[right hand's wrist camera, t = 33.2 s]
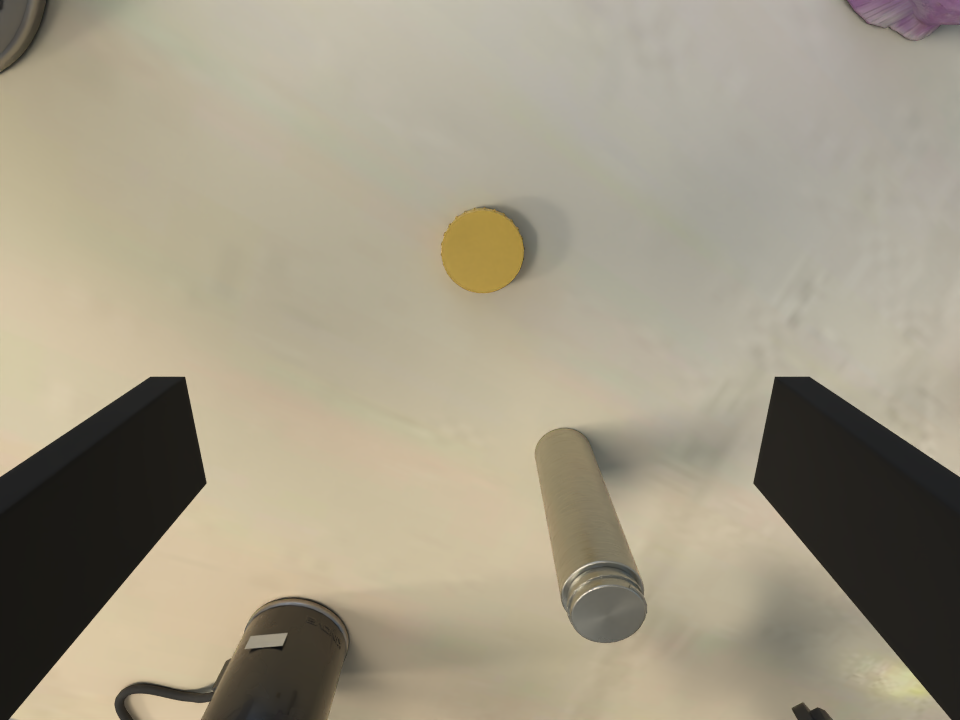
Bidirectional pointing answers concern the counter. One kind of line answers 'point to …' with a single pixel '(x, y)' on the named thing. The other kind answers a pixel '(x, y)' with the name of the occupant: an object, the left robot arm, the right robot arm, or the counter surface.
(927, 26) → the figurine
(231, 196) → the counter surface
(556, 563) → the bottle
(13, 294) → the counter surface
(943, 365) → the counter surface
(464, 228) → the lid
